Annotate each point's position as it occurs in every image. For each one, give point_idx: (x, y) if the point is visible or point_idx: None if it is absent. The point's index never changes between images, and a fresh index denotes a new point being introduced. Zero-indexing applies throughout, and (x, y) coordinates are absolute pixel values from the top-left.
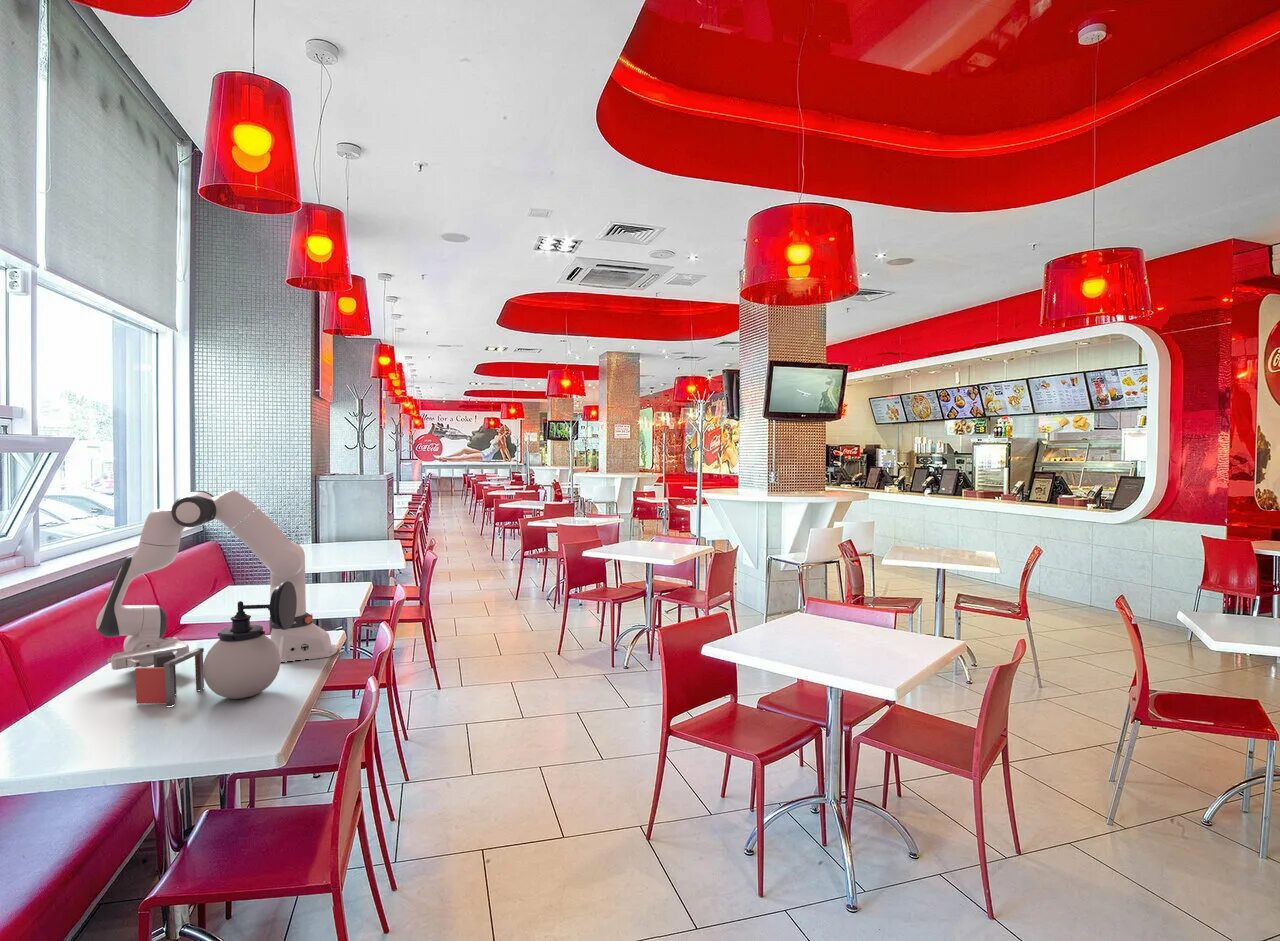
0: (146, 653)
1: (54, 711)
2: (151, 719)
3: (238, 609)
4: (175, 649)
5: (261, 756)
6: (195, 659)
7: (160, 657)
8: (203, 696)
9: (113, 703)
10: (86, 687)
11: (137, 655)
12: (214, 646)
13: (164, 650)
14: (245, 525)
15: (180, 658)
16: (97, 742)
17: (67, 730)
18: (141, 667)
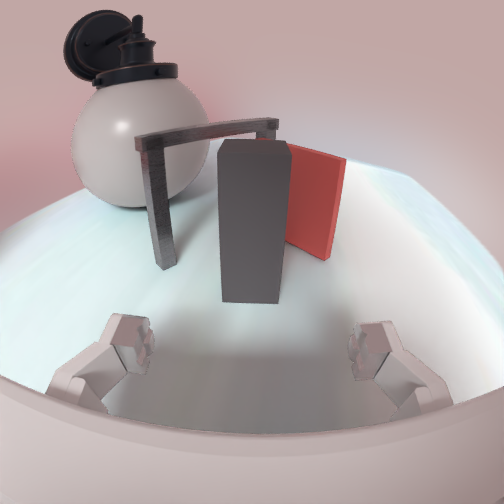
0: (310, 436)
1: (501, 328)
2: None
3: (142, 28)
4: (45, 396)
5: (233, 138)
6: (164, 167)
7: (273, 140)
8: (186, 230)
9: (389, 307)
10: None
11: (392, 422)
12: (186, 88)
13: (122, 418)
14: None
15: (234, 120)
16: (362, 186)
17: (420, 228)
18: (329, 157)
